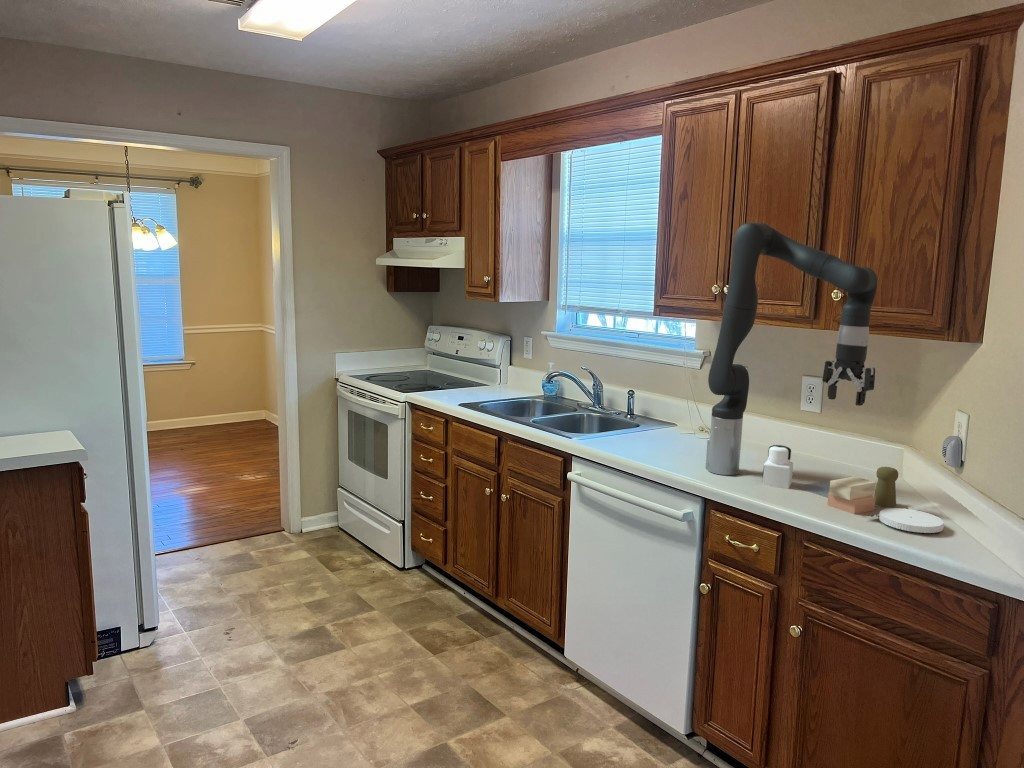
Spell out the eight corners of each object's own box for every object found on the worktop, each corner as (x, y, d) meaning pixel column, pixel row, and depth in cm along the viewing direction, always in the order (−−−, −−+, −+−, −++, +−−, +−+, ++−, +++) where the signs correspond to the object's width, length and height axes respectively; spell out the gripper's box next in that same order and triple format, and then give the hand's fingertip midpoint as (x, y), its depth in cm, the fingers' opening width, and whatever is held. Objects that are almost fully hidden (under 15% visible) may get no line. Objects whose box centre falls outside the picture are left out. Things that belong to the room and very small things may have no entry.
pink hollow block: (826, 508, 196) (828, 492, 195) (846, 504, 200) (848, 488, 199) (853, 517, 189) (855, 500, 188) (873, 513, 193) (875, 496, 192)
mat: (792, 489, 212) (793, 486, 212) (821, 484, 218) (821, 481, 218) (828, 501, 202) (829, 498, 202) (857, 496, 208) (857, 492, 208)
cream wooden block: (829, 493, 194) (830, 480, 193) (854, 489, 199) (855, 476, 198) (849, 500, 189) (850, 486, 188) (874, 495, 193) (875, 482, 193)
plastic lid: (882, 532, 180) (883, 522, 179) (875, 514, 193) (876, 505, 193) (948, 540, 175) (949, 530, 175) (936, 522, 188) (937, 512, 188)
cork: (888, 504, 201) (893, 464, 199) (901, 511, 195) (905, 470, 193) (866, 504, 201) (870, 464, 199) (878, 511, 195) (882, 470, 193)
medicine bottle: (765, 482, 220) (769, 442, 218) (791, 486, 216) (795, 445, 215) (761, 488, 213) (765, 447, 212) (788, 492, 210) (791, 450, 208)
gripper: (820, 339, 203) (814, 398, 206) (866, 346, 191) (859, 408, 194) (838, 339, 207) (832, 396, 210) (885, 345, 195) (878, 406, 198)
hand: (845, 402), depth 202 cm, fingers open, 8 cm apart
